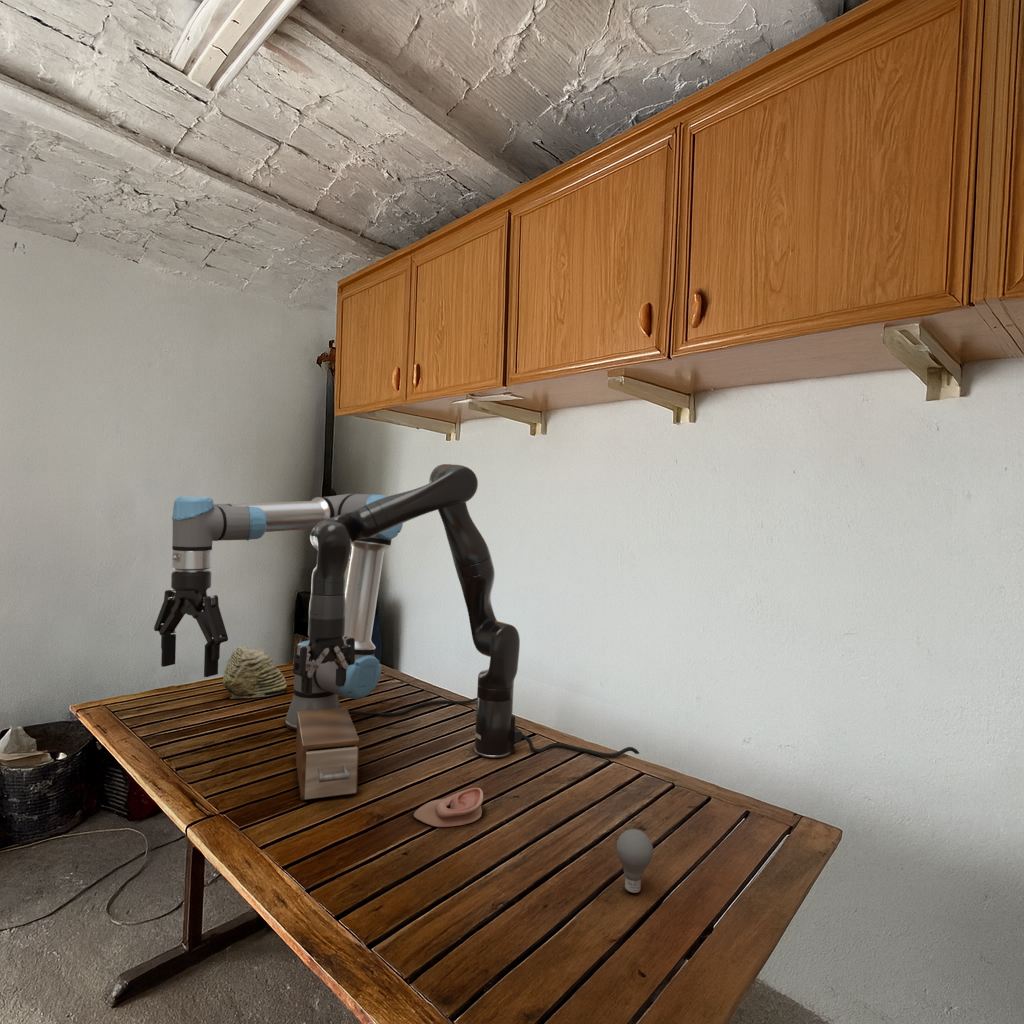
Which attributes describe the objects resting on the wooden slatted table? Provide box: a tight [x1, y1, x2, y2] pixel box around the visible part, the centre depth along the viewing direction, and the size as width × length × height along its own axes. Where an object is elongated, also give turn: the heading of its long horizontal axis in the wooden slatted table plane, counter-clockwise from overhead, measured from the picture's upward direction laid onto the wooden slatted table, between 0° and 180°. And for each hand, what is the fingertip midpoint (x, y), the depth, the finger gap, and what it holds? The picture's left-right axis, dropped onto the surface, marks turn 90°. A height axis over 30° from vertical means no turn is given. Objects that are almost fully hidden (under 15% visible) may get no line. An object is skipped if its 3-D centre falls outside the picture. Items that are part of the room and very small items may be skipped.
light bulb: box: [615, 828, 654, 894], centre depth 106 cm, size 6×6×10 cm
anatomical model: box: [413, 787, 484, 828], centre depth 129 cm, size 13×4×12 cm
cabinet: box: [295, 707, 360, 801], centre depth 144 cm, size 22×12×12 cm, turn 22°
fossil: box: [222, 646, 288, 699], centre depth 198 cm, size 9×18×15 cm, turn 132°
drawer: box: [304, 746, 358, 800], centre depth 139 cm, size 26×10×10 cm, turn 22°
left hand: (189, 670), depth 133 cm, fingers open, 13 cm apart
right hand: (324, 690), depth 135 cm, fingers open, 8 cm apart
